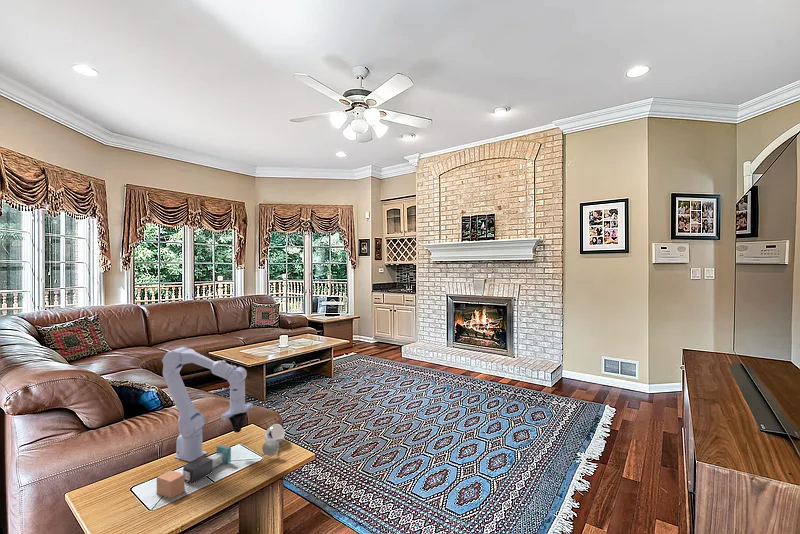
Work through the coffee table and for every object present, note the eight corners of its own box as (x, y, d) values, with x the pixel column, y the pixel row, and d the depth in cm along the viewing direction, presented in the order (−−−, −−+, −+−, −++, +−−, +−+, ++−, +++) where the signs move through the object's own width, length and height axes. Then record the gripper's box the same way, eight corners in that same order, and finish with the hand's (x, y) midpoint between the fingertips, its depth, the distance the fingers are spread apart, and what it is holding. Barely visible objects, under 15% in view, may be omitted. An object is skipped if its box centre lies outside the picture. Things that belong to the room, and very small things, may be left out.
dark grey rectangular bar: (183, 480, 135) (183, 466, 135) (202, 469, 143) (202, 456, 143) (193, 483, 133) (193, 469, 133) (212, 472, 141) (212, 459, 141)
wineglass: (283, 454, 152) (287, 436, 170) (278, 434, 152) (283, 418, 170) (262, 460, 151) (268, 441, 168) (257, 441, 151) (264, 424, 168)
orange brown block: (156, 493, 127) (156, 477, 128) (170, 485, 132) (170, 470, 132) (170, 498, 125) (170, 481, 125) (184, 490, 129) (184, 474, 129)
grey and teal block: (181, 480, 135) (181, 464, 135) (219, 459, 150) (219, 444, 150) (192, 483, 133) (192, 467, 133) (230, 462, 148) (230, 447, 148)
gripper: (230, 405, 147) (230, 440, 146) (258, 394, 160) (258, 426, 160) (217, 402, 149) (217, 437, 149) (245, 392, 163) (245, 423, 162)
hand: (237, 431), depth 155 cm, fingers closed
